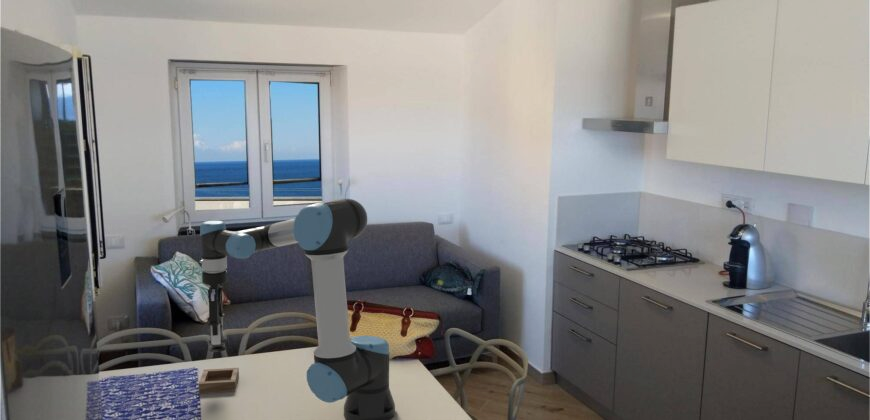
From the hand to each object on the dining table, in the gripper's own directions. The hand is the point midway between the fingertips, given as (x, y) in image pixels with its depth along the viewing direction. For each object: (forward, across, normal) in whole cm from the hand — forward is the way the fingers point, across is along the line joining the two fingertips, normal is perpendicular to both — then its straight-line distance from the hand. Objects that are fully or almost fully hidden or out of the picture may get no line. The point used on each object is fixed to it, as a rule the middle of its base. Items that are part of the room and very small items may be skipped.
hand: (217, 340), depth 211 cm
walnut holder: (+15, 0, 0) cm, 15 cm away
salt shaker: (+3, 0, 0) cm, 3 cm away
